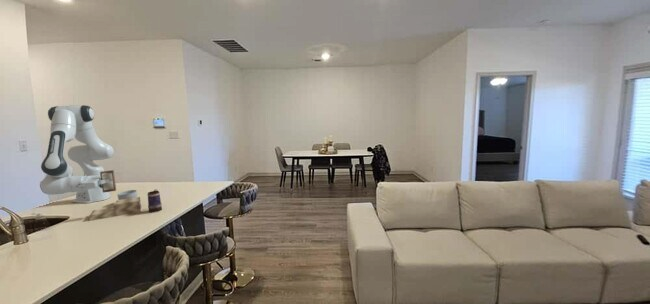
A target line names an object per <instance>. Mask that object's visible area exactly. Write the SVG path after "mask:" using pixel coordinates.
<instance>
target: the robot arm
mask: <svg viewBox="0 0 650 304" xmlns="http://www.w3.org/2000/svg"><path fill="white" fill-rule="evenodd" d="M47 117H48V119H49V121H50V134H49V135H50V136H49V141H48V148H47V153H46V156H45V158H44V159H43V161H42V162H41V165H40V168H41V171H42V172H43V173H44V174H46V175H45V177H44V178H43V179H42V180H41V181H40V182H39V187H40V190H41V191H42V193H43V194H45V195H49V196H50V195H62V194H67V193H76V194H75V197H76V198H75V199H72V201H71V203H80V204H90V203H95V202H101V201H105V200H108V199H111V198H112V196H111V194H110V192H104V193H103V190H102V184H104V183H109V182H110V180H109V179H106V180H101V176H100V172H101V171H105V168H104V167H103V166H102V165H100V164H99V165H98V164H96V163H95V161H99V160H100V161H102V160H107V159H108V160H109V159H111V158H112V157H113V156H114V154H115V153H114V152H115V151H114V147H112V146H111V145H110V144H108V143H106V142H104V141H103V140H101V138H99V136H98V135H97V132H96V129H95V128H94V125H93V122H92V121H93V120H94V118H95V111H94V109H93V108H92V107H91V106H89V105H85V104H84V105H80V104H79V105H78V104H77V105H76V104H75V105H74V104H73V105H72V104H70V105H56V106H51V107H50V108H49V109H48V111H47ZM73 140H77V142H79V143H82V144H81V145H75V146H71V147H70V148H69V149H68V150H67V157H68V158H69V159H70V160H71V161H73V162H75V163H76V164H78V166H79V167H80V168H81V169H82V171H83V174H82V175H73V174H74V169H73V167H72V166H71V164H69V162H67V161H66V159H65V157H64V154H65V147H66V146H65V145H66V143H69V142H72V141H73Z"/></svg>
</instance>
